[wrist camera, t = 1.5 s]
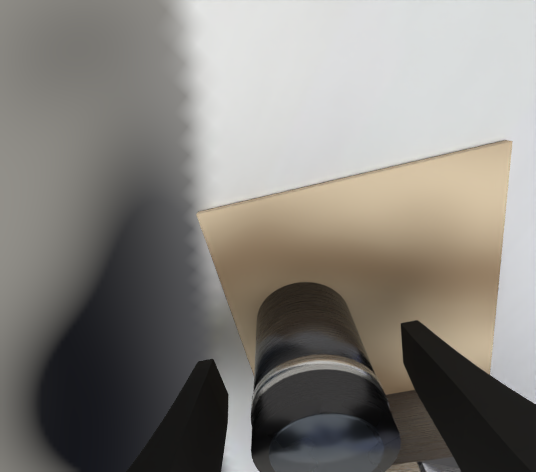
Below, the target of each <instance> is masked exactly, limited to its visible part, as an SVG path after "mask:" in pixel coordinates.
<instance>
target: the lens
mask: <svg viewBox="0 0 536 472" xmlns="http://www.w3.org/2000/svg"><path fill="white" fill-rule="evenodd" d="M251 424H252V444H251V453H252V459H253V462H254V464H255V466H256V468H257V469H258V470H259V471H260V472H385V471H387V470H388V469H389V468H390V466H391V465H392V464H393V463H394V461H395V460H396V458H397V456H398V454H399V451H400V447H401V438H400V433H399V431H398V429H397V426H396V424H395V421H394V419H393V416H392V414H391V411H390V407H389V402H388V400H387V397H386V395H385V392H384V390H383V387H382V385H381V383H380V381H379V379H378V378H377V376H376V374H375V372H374V370H373V367H372V365H371V362H370V360H369V357H368V355H367V352H366V350H365V347H364V345H363V343H362V340H361V338H360V335H359V333H358V330H357V328H356V325H355V323H354V320H353V318H352V315H351V313H350V311H349V308H348V306H347V303H346V302H345V300H344V299H343V298H342V296H341V295H340V294H339V293H337V292H336V291H335V290H333V289H332V288H330V287H327V286H325V285H322V284H319V283H313V282H299V283H293V284H289V285H286V286H284V287H281V288H279V289H277V290H276V291H274V292H273V293H271V294H270V295H269V296H268V297H267V298H266V299H265V300H264V302H263V303H262V305H261V306H260V309H259V311H258V315H257V324H256V348H255V372H254V393H253V396H252V407H251Z"/></svg>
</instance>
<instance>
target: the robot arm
mask: <svg viewBox="0 0 536 472" xmlns="http://www.w3.org/2000/svg"><path fill="white" fill-rule="evenodd" d="M401 338H402V353H403V364H404V366H405V368H406V371H407V373H408V375H409V378H410V380H411V382H412V384H413V387H414V389H415V391H416V393H417V394H418V396H419V398H420V400H421V402H422V403H423V405H424V407H425V409H426V410H427V412H428V414H429V416H430V417H431V419H432V421H433V422H434V424H435V426H436V428H437V429H438V431H439V433H440V435H441V436H442V438H443V440H444V441H445V443H446V445H447V447H448V448H449V450H450V452H451V454H452V455H453V457H454V459H455V461H456V463H457V465H458V466H459V468H460V470H461V472H536V404H534V403H532V402H531V401H529V400H527V399H526V398H524V397H523V396H521V395H519V394H518V393H516V392H515V391H513V390H512V389H510V388H508V387H507V386H505V385H504V384H502V383H501V382H499V381H498V380H496V379H495V378H493V377H492V376H491V375H489V374H488V373H486V372H485V371H483V370H482V369H480V368H479V367H478V366H476V365H475V364H474V363H472V362H471V361H469V360H468V359H467V358H465V357H464V356H463V355H461V354H460V353H459V352H457V351H456V350H455V349H453V348H452V347H451V346H450V345H448V344H447V343H446V342H444V341H443V340H442V339H441V338H439V337H438V336H437V335H436V334H434V333H433V332H432V331H431V330H430V329H428V328H427V327H426V326H425V325H423V324H422V323H421V322H420V321H418V320H415V321H410V322H404V323H401ZM227 423H228V392H227V390H226V388H225V385H224V383H223V381H222V378H221V376H220V374H219V371H218V369H217V366H216V364H215V362H214V359H210V360H204V361H199V362H198V363H197V364H196V366H195V368H194V369H193V371H192V373H191V375H190V376H189V378H188V380H187V382H186V383H185V385H184V387H183V388H182V390H181V391H180V393H179V395H178V397H177V398H176V400H175V402H174V403H173V405H172V406H171V408H170V409H169V411H168V413H167V414H166V416H165V417H164V419H163V421H162V422H161V424H160V425H159V427H158V428H157V429H156V431H155V432H154V434H153V436H152V437H151V439H150V440H149V441H148V443H147V444H146V446H145V447H144V449H143V450H142V451H141V453H140V454H139V455H138V457H137V458H136V459H135V461H134V462H133V464H132V465H131V466H130V467H129V469H128V470H127V471H126V472H221V467H222V460H223V453H224V446H225V439H226V431H227Z"/></svg>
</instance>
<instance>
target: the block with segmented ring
mask: <svg viewBox="0 0 536 472" xmlns="http://www.w3.org/2000/svg"><path fill="white" fill-rule="evenodd" d="M386 397H387V400H388V402H389V407H390V411H391V414H392V416H393V419H394V421H395V424H396V426H397V429H398V431H399V433H400V438H401V447H400V451H399V454H398V456H397V458H396V460H395V461H394V463H393V464H392V465H391V466H390V468H389V469H388V470H387V471H385V472H461V470H460V468H459V466H458V465H457V463H456V461H455V459H454V457H453V455H452V454H451V452H450V450H449V448H448V447H447V445H446V443H445V441H444V440H443V438H442V436H441V435H440V433H439V431H438V429H437V428H436V426H435V424H434V422H433V421H432V419H431V417H430V416H429V414H428V412H427V410H426V409H425V407H424V405H423V403H422V402H421V400H420V398H419V396H418V394H417V393H416V391H415V390H411V391H405V392H399V393H393V394H387V395H386Z"/></svg>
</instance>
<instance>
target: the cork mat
mask: <svg viewBox="0 0 536 472" xmlns="http://www.w3.org/2000/svg"><path fill="white" fill-rule="evenodd" d="M511 150H512V141H507V140H505V141H501V142H496V143H492V144H488V145H483V146H479V147H475V148H471V149H466V150H462V151H458V152H453V153H449V154H445V155H441V156H436V157H432V158H428V159H423V160H419V161H415V162H410V163H406V164H402V165H398V166H393V167H389V168H385V169H380V170H376V171H372V172H367V173H363V174H359V175H355V176H350V177H346V178H342V179H337V180H333V181H329V182H324V183H320V184H316V185H312V186H307V187H303V188H299V189H294V190H290V191H286V192H281V193H277V194H273V195H269V196H264V197H260V198H256V199H251V200H247V201H243V202H239V203H234V204H230V205H226V206H221V207H217V208H213V209H208V210H204V211H200V212H198V213H197V214H196V215H197V218H198V220H199V223H200V226H201V229H202V232H203V234H204V237H205V240H206V243H207V246H208V248H209V251H210V254H211V257H212V260H213V262H214V265H215V268H216V271H217V274H218V276H219V279H220V282H221V285H222V288H223V290H224V293H225V296H226V299H227V302H228V304H229V307H230V310H231V313H232V316H233V318H234V321H235V324H236V327H237V330H238V332H239V335H240V338H241V341H242V344H243V346H244V349H245V352H246V355H247V358H248V360H249V363H250V366H251V369H252V372H253V374H254V372H255V348H256V324H257V315H258V311H259V309H260V306H261V305H262V303H263V302H264V300H265V299H266V298H267V297H268V296H269V295H270V294H271V293H273V292H274V291H276V290H277V289H279V288H281V287H284V286H286V285H289V284H293V283H299V282H313V283H319V284H322V285H325V286H327V287H330V288H332V289H333V290H335V291H336V292H337V293H339V294H340V295H341V296H342V298H343V299H344V300H345V302H346V303H347V306H348V308H349V311H350V313H351V315H352V318H353V320H354V323H355V325H356V328H357V330H358V333H359V335H360V338H361V340H362V343H363V345H364V347H365V350H366V352H367V355H368V357H369V360H370V362H371V365H372V367H373V370H374V372H375V374H376V376H377V378H378V379H379V381H380V383H381V385H382V387H383V390H384V392H385V395H387V394H393V393H399V392H405V391H411V390H415V389H414V387H413V384H412V382H411V380H410V378H409V375H408V373H407V371H406V368H405V366H404V364H403V353H402V338H401V323H404V322H410V321H415V320H418V321H420V322H421V323H422V324H423V325H425V326H426V327H427V328H428V329H430V330H431V331H432V332H433V333H434V334H436V335H437V336H438V337H439V338H441V339H442V340H443V341H444V342H446V343H447V344H448V345H450V346H451V347H452V348H453V349H455V350H456V351H457V352H459V353H460V354H461V355H463V356H464V357H465V358H467V359H468V360H469V361H471V362H472V363H474V364H475V365H476V366H478V367H479V368H480V369H482V370H483V371H485V372H486V373H488V374H489V375H490V367H491V357H492V347H493V336H494V326H495V316H496V305H497V295H498V285H499V274H500V264H501V254H502V243H503V233H504V222H505V212H506V202H507V191H508V181H509V171H510V160H511Z"/></svg>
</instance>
